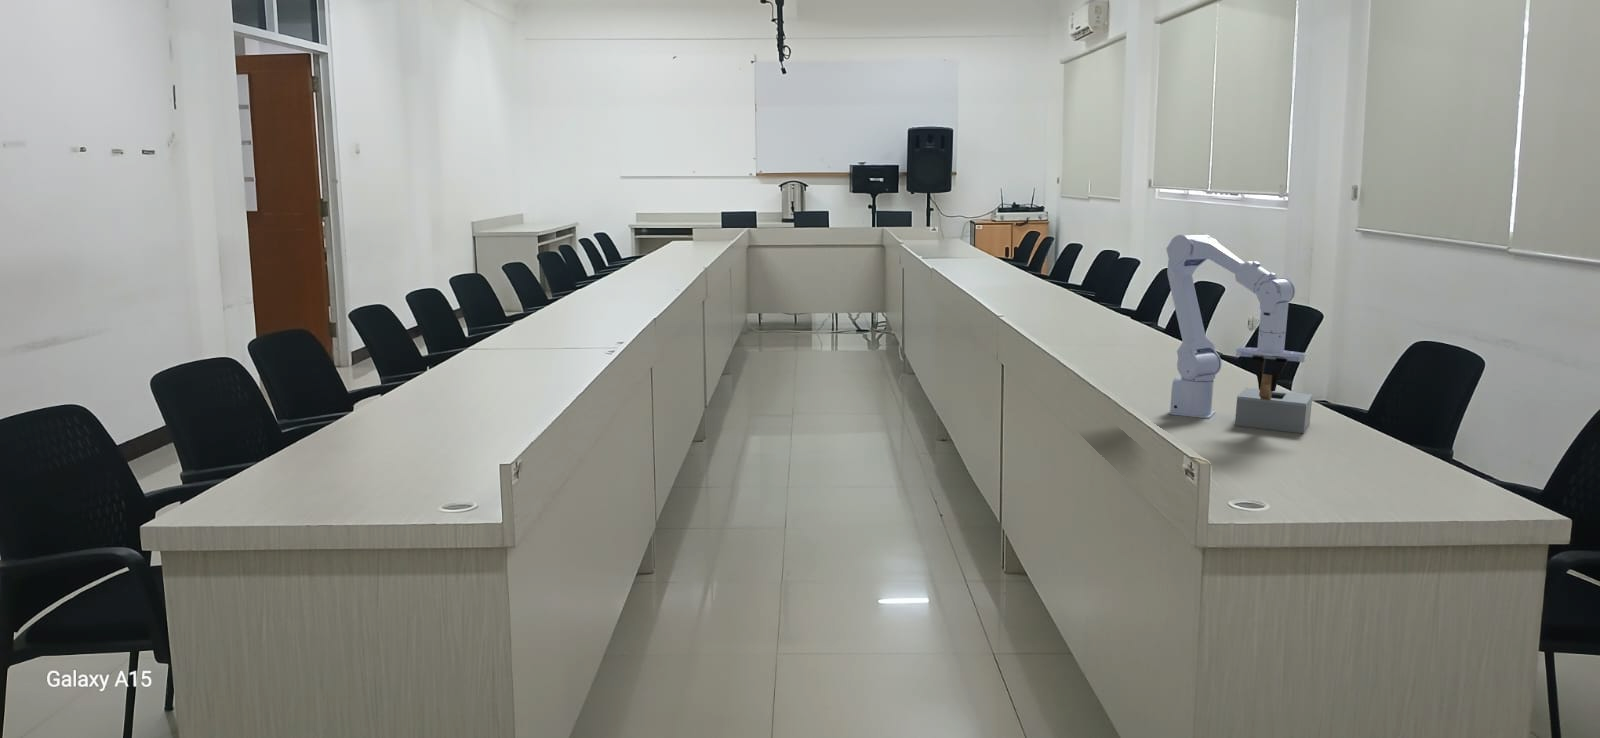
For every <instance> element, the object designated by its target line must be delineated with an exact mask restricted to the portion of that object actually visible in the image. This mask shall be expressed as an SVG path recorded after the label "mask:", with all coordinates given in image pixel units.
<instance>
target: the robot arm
mask: <svg viewBox="0 0 1600 738" xmlns="http://www.w3.org/2000/svg"><path fill="white" fill-rule="evenodd" d="M1166 253H1167V258H1168V263H1167V271H1166V272H1167V273H1166V274H1167V278H1168V283H1169V287H1170V288H1169V289H1170V292H1171V296H1172V300H1173V305H1174V309H1175V313H1176V318H1177V322H1178V327H1179V331H1180V336H1181V339H1182V343H1181V345H1180V346H1179V347H1178V349H1177V350H1176V354H1177V363H1176V368H1177V371H1178V373H1179V375H1180V376H1175V377H1174V378H1173V381H1172V385H1171V394H1170V406H1169V407H1170V408H1169V409H1170V410H1169V415H1173V416H1182V417H1190V418H1191V417H1192V418H1197V419H1199V418H1201V419H1208V420H1209V419H1211V418H1212V417H1213V415H1215V413H1216V411H1215V410H1212V407H1213V405H1212V404H1213V403H1212V402H1213V395H1214V394H1213V393H1214V382H1215V381H1214V380H1216V375H1217V374H1218V373H1219V372H1220V370H1221V368H1222V360H1221V359H1222V358H1221V357H1220V355H1219V353H1218V352H1217V350H1216V346H1215V344H1214V342H1212V341H1210V340H1209V339H1208V338H1207V336H1206V331H1205V327H1204V323H1203V318H1202V314H1201V310H1200V309H1201V308H1200V305H1199V302H1198V296H1197V293H1196V292H1197V291H1196V287H1195V283H1194V280H1193V275H1194V273H1195V271H1196V270H1197V268H1199V267H1200V266H1201V265H1202V264H1203V263H1205V261H1207V260H1210V261H1211V262H1213V263H1215V264H1217V265H1218V266H1220V267H1222V268H1224V269H1226V270H1227V271H1229V272H1231V273H1232V274H1234V278H1235V281H1236V282H1237V283H1238V284H1239V285H1241V286H1243V287H1244V288H1246V289H1247V290H1249V291H1250V292H1252V293H1253V294H1255V295H1256V298H1257V300H1258V301H1259V309H1260V312H1259V313H1260V316H1259V324H1258V325H1259V327H1258V336H1257V346H1256V347H1244V346H1243V347H1241V346H1237V348H1236V353H1235V356H1236V357H1247V358H1252V359H1251V360H1250V361H1251V365H1252V367H1253V369H1254V371H1255V375H1256V378H1257V383H1258V389H1259V390H1260V387H1261V381H1262V376H1263V374H1265V369H1266V361H1267V360H1274V361H1273V365H1272V366H1273V367H1272V371H1273V372H1272V376H1273V379H1272V385H1271V391H1277V390H1276V389H1277V385H1278V382H1279V379H1280V377H1281V375H1282V373H1283V371H1284V369H1285V367H1286V366H1287V364H1288V362H1298V363H1305V361H1306V359H1305V358H1306V353H1305V352H1299V351H1292V350H1291V351H1290V350H1285V345H1286V343H1285V342H1286V334H1287V323H1288V322H1287V321H1288V312H1289V303H1291V301H1292V300H1293V299H1294V297H1295V293H1296V291H1295V286H1294V284H1293V282H1292V281H1290V279H1289V278H1286V277H1279V278H1278V277H1277V274H1276V273H1275V272H1270V271H1268V270H1267V269H1265V268H1264V267H1262V266H1261V263H1260V262H1259V261H1258V260H1257V261H1256V260H1255V261H1253V260H1252V261H1251V260H1247V261H1246V262H1244V261H1243V260H1242V259H1240V258H1239V257H1237V256H1236V255H1235V254H1233V253H1232V252H1231V251H1230V250H1228V249H1227V248H1226V247H1224V246H1223V245H1222V244H1220V242H1218V240H1217V239H1216V238H1213V237H1211V236H1210V235H1209V234H1206V233H1199V234H1187V235H1186V234H1185V235H1184V234H1177V235H1175V236H1174V237H1173V238H1172V239H1171V240H1170V242H1169V243H1168V245H1167V247H1166Z"/></svg>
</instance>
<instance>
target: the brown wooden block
mask: <svg viewBox="0 0 1600 738" xmlns="http://www.w3.org/2000/svg"><path fill="white" fill-rule="evenodd" d="M1272 379H1273V374H1267V373H1266V374H1265V373H1264V374H1263V376H1262V381H1261V387H1260V392H1259V396H1260V398H1261V399H1263V400H1270V401H1271V396H1272V391H1271V385H1272Z"/></svg>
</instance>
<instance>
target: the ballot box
mask: <svg viewBox="0 0 1600 738" xmlns="http://www.w3.org/2000/svg"><path fill="white" fill-rule="evenodd" d="M1259 392H1260V390H1259V388H1252V387H1244V389H1243V390H1242V391H1241V392H1240V393H1239V394H1238V395H1237V397H1236V409H1235V422H1234V426H1236V427H1244V428H1253V429H1263V430H1270V431H1278V432H1279V431H1280V432H1287V433H1296V434H1305V432H1306V430H1307V429H1308V428H1309V425H1310V424H1311V414H1312V413H1311V412H1312V402H1313V394H1310V393H1301V392H1293V391H1292V392H1291V391H1284V390H1283V391H1281V390H1275V391H1272V396H1271V401H1270V400H1263V399H1261V398H1260V396H1259Z"/></svg>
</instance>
